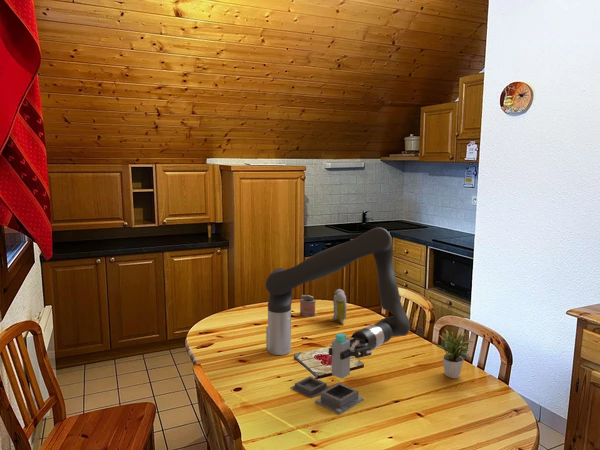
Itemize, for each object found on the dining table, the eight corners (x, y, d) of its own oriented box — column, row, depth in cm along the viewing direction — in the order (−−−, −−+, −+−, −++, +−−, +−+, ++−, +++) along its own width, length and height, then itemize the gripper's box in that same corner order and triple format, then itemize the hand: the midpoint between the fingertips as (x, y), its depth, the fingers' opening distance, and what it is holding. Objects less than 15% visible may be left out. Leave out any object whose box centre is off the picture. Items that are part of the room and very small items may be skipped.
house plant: (468, 389, 155) (471, 343, 153) (427, 379, 162) (429, 334, 160) (477, 373, 167) (480, 330, 165) (438, 364, 174) (440, 322, 172)
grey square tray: (289, 388, 155) (289, 383, 155) (309, 378, 162) (309, 373, 162) (311, 399, 148) (311, 394, 148) (331, 388, 155) (331, 383, 155)
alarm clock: (346, 326, 214) (346, 294, 212) (331, 326, 214) (331, 294, 212) (344, 317, 226) (344, 287, 224) (330, 317, 226) (330, 287, 224)
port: (315, 403, 146) (315, 392, 145) (339, 389, 154) (339, 380, 154) (339, 415, 139) (340, 404, 138) (363, 400, 147) (364, 390, 147)
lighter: (316, 314, 230) (316, 295, 228) (314, 316, 227) (314, 297, 225) (301, 312, 232) (301, 293, 231) (298, 315, 229) (298, 295, 228)
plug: (331, 374, 145) (331, 334, 144) (339, 370, 148) (340, 331, 146) (341, 378, 143) (342, 338, 141) (349, 374, 145) (350, 334, 144)
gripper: (351, 323, 159) (317, 336, 147) (386, 333, 149) (353, 349, 137) (351, 343, 160) (317, 359, 148) (385, 355, 150) (353, 373, 138)
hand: (335, 354), depth 142 cm, fingers closed on plug, 4 cm apart
